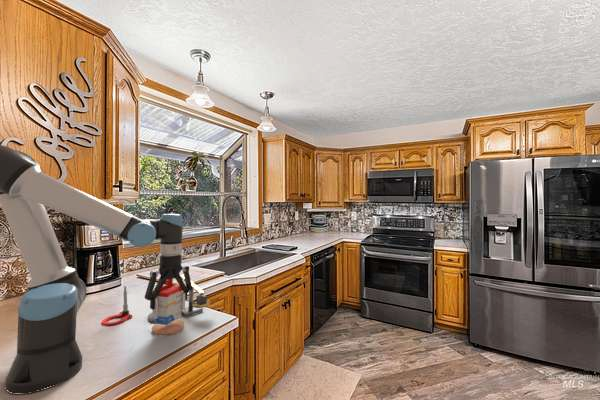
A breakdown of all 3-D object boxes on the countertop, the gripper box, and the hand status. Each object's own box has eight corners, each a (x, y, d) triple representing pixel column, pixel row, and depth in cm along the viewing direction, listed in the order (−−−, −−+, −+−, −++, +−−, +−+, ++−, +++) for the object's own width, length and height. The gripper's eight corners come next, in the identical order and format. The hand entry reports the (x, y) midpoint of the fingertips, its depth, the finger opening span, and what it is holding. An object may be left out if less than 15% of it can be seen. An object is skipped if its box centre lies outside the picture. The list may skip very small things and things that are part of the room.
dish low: (159, 339, 92) (159, 335, 92) (147, 328, 99) (147, 325, 99) (189, 328, 101) (189, 325, 101) (176, 319, 108) (176, 316, 108)
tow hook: (110, 328, 100) (134, 318, 108) (109, 295, 99) (133, 287, 108) (96, 324, 103) (121, 314, 112) (96, 291, 103) (120, 284, 111)
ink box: (166, 325, 95) (168, 285, 96) (155, 324, 96) (156, 283, 97) (181, 315, 104) (183, 278, 104) (170, 314, 105) (172, 277, 105)
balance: (196, 324, 104) (197, 287, 105) (168, 307, 120) (170, 275, 120) (214, 317, 110) (215, 282, 111) (185, 302, 126) (187, 272, 126)
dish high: (154, 325, 102) (154, 322, 102) (143, 317, 109) (143, 314, 109) (182, 316, 111) (182, 313, 111) (170, 309, 118) (170, 306, 118)
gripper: (142, 260, 90) (140, 326, 89) (202, 251, 107) (201, 307, 106) (134, 256, 94) (132, 319, 94) (193, 249, 111) (191, 302, 111)
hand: (169, 312), depth 100 cm, fingers closed on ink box, 9 cm apart
